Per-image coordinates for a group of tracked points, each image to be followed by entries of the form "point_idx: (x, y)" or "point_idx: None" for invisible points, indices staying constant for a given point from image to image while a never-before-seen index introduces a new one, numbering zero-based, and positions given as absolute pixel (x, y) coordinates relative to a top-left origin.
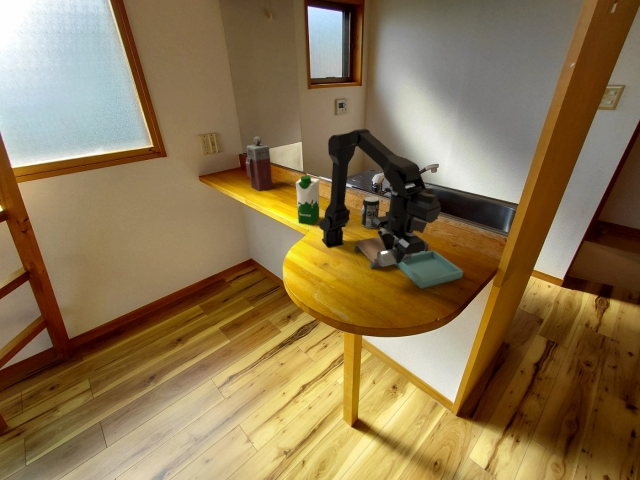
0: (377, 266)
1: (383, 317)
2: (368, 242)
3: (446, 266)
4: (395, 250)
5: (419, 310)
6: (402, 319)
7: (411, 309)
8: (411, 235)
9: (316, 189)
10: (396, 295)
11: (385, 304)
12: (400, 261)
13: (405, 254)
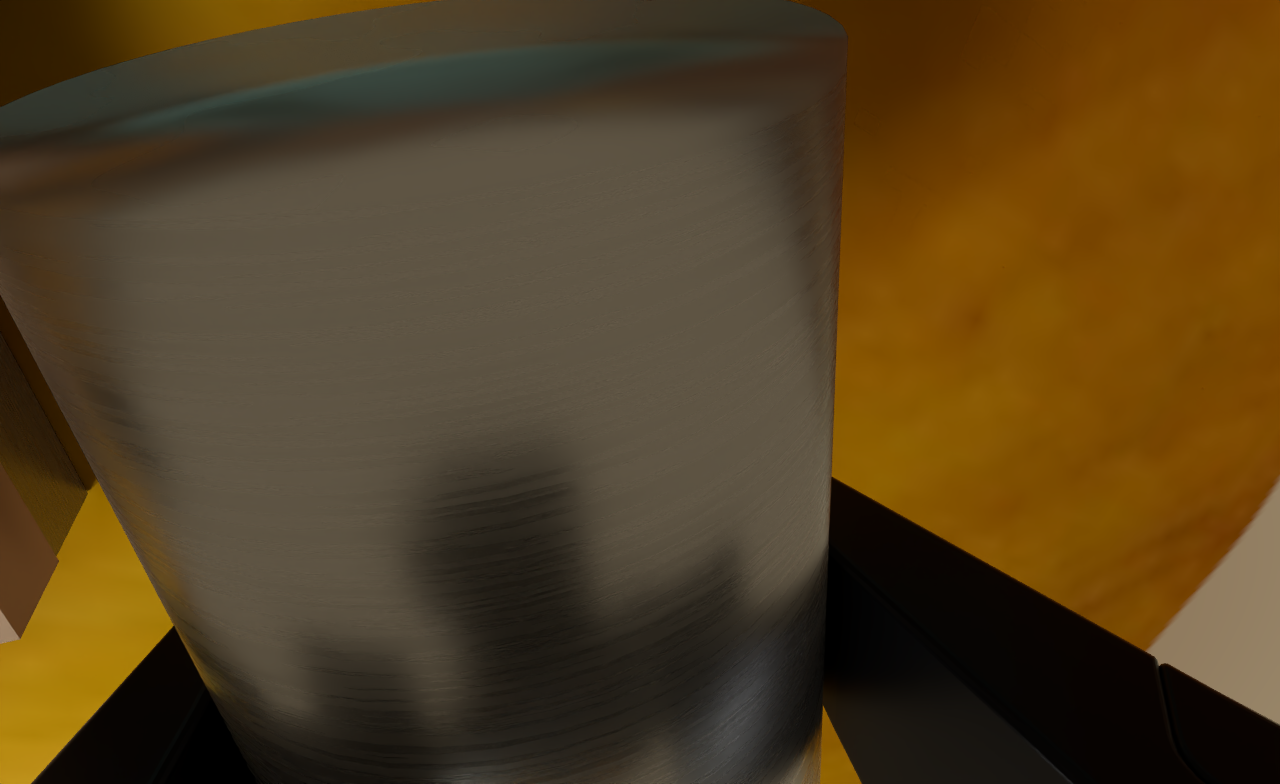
0: (15, 393)
1: (1114, 567)
2: None
3: None
4: None
5: (1277, 149)
6: (1245, 409)
7: (1202, 246)
8: None
9: None
10: (892, 327)
11: (971, 504)
12: (849, 504)
13: (832, 416)
